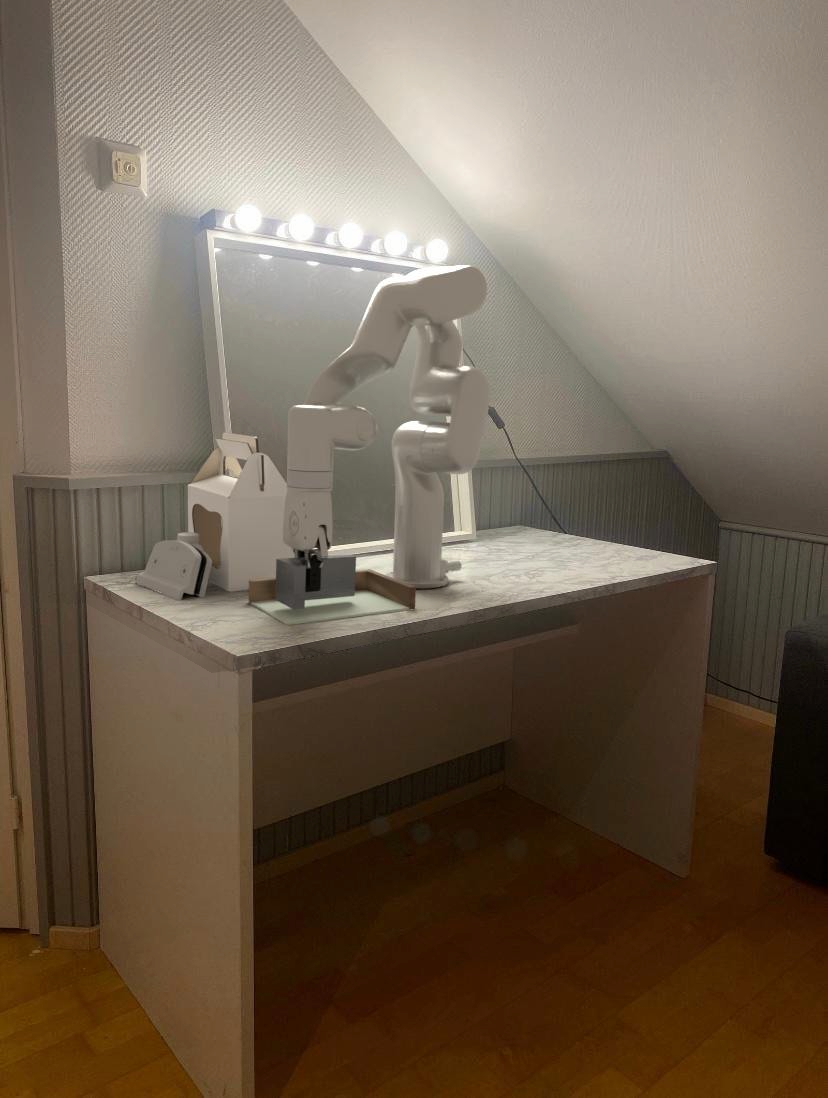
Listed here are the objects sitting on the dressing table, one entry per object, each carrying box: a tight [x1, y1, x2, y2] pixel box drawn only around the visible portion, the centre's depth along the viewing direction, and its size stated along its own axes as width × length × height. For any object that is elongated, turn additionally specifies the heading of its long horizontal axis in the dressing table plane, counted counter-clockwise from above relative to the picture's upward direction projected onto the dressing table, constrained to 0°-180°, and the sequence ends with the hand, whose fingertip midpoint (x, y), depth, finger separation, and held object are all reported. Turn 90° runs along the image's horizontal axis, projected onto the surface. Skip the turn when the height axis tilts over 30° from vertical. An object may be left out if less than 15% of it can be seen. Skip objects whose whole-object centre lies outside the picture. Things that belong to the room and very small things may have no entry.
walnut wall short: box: [367, 570, 417, 611], centre depth 150 cm, size 1×15×4 cm, turn 33°
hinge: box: [135, 539, 212, 601], centre depth 153 cm, size 17×5×10 cm, turn 45°
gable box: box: [187, 432, 294, 593], centre depth 162 cm, size 22×13×28 cm, turn 34°
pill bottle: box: [176, 531, 203, 550], centre depth 161 cm, size 5×5×9 cm
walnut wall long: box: [248, 568, 374, 605], centre depth 151 cm, size 24×1×4 cm, turn 123°
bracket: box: [275, 554, 357, 609], centre depth 140 cm, size 7×14×7 cm, turn 123°
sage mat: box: [250, 590, 410, 626], centre depth 144 cm, size 23×15×1 cm, turn 123°
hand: (307, 588), depth 142 cm, fingers closed on bracket
